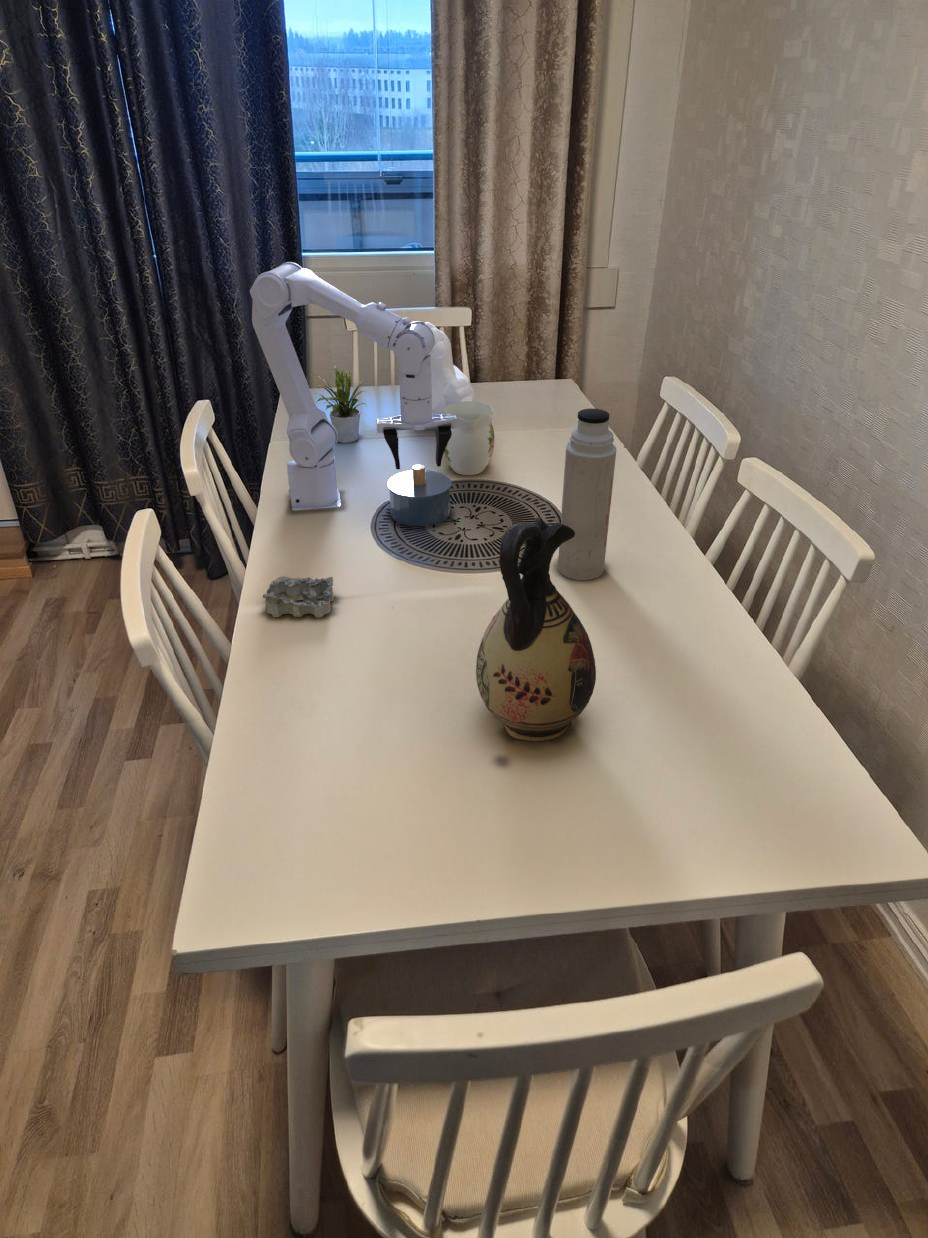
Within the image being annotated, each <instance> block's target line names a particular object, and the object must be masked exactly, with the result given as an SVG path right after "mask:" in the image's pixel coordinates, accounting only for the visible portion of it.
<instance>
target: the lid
mask: <svg viewBox="0 0 928 1238" xmlns="http://www.w3.org/2000/svg"><path fill="white" fill-rule="evenodd" d="M452 483H453V482H452V480H451V478H450V477H449V476H448V475H446V474H444V473H442V472H440V471H435V470H429V469H426V466H425V465H424V464H413V466H412V469H410V470H405V471H402V472H398V473H396V474H394V475H393V476H391V477H390V478H389V479H388V480H387V482H386V486H387V487H386V488H387V490H388V492H389V491H390V492H391V493H393V494H394V495H396V496H399V497H403V498H408V499H428V498H433V497H437V496H440V495H443V494H445V493H446V492H448V491H449V490H450V491H451V488H452Z"/></svg>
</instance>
